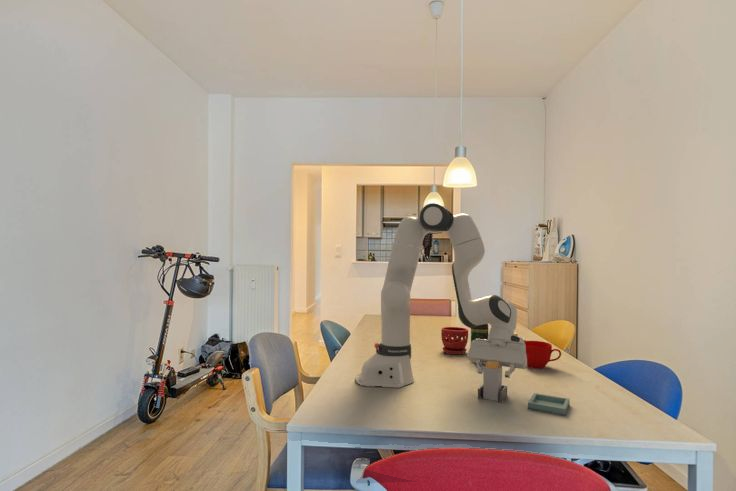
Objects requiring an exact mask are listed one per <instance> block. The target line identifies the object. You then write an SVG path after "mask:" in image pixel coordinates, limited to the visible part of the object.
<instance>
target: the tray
mask: <svg viewBox="0 0 736 491" xmlns="http://www.w3.org/2000/svg"><path fill="white" fill-rule="evenodd" d="M569 407H570V398H568V397H561V396H556V395H555V396H554V395H549V394H543V393H537V392H533V393H532V395H531V397H530V398H529V400H528V401H527V410H531V411H536V412H540V413H541V412H542V413H547V414H551V415H552V414H553V415H557V416H563V417H564V416H565V417H566V415H567V412H568V411H569Z"/></svg>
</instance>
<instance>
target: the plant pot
mask: <svg viewBox="0 0 736 491" xmlns="http://www.w3.org/2000/svg"><path fill="white" fill-rule="evenodd" d="M440 331H441V333H440V334H441V342H442V345H443V347H442V351H443V352H444V353H447V354H450V355H454V356H455V355H462V354H465V353H466V352H467V348H466V347H467V345H468V340H469V329H468V328H466V327H458V326H444V327H442V328H441V330H440Z"/></svg>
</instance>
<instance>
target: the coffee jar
mask: <svg viewBox="0 0 736 491" xmlns="http://www.w3.org/2000/svg"><path fill="white" fill-rule="evenodd" d="M488 335H489V323H488V324H483V325H480V326H477V327H474V328H470V342H471V341H473V340H476V339H485V340H488Z"/></svg>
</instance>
